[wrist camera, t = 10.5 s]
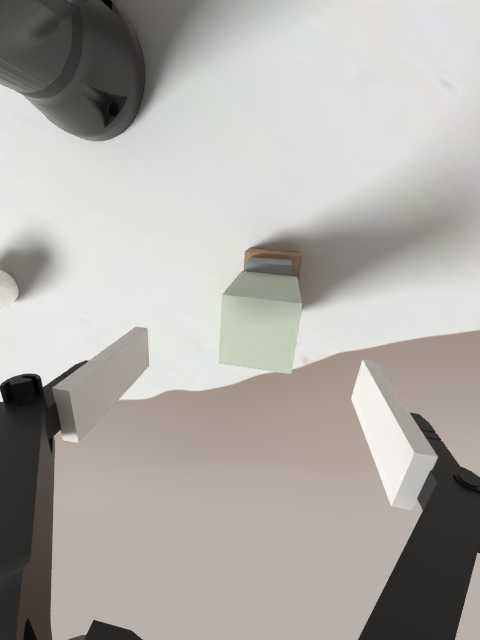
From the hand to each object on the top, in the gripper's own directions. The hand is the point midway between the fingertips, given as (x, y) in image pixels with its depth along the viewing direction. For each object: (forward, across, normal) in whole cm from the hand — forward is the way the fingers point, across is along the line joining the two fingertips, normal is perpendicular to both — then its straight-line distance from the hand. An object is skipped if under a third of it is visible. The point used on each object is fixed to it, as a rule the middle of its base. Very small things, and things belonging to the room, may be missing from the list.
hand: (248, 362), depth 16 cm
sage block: (+15, 0, 0) cm, 15 cm away
